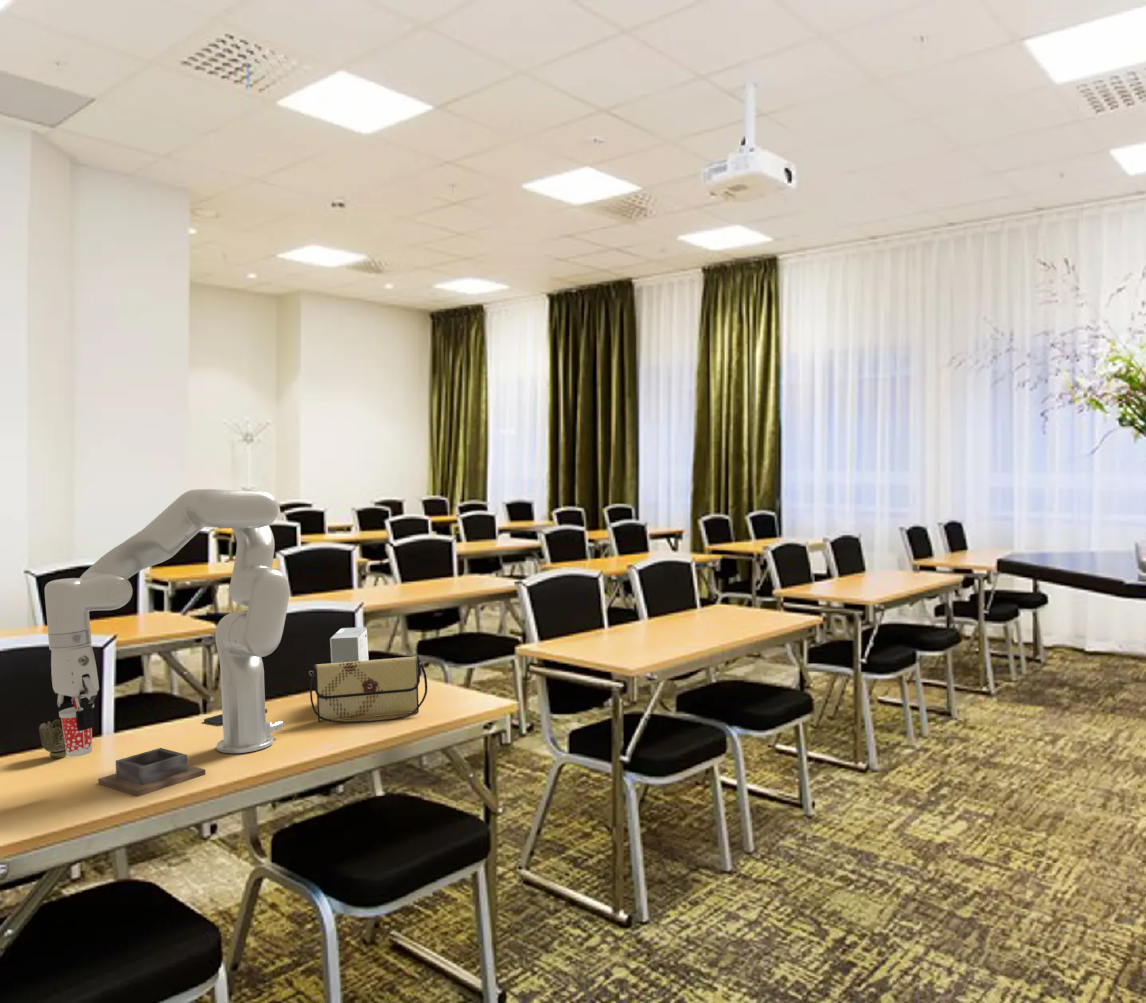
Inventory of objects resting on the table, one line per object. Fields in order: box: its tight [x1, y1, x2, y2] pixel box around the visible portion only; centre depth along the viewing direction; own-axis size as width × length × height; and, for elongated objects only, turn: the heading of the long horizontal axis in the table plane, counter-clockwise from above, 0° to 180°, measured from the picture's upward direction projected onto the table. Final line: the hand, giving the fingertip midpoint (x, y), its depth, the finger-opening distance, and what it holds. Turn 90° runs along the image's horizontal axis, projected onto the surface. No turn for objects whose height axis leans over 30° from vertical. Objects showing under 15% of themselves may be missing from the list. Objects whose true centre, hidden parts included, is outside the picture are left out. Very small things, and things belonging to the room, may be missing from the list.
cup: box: [38, 719, 67, 760], centre depth 207 cm, size 8×7×8 cm
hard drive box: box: [329, 626, 370, 663], centre depth 248 cm, size 16×8×20 cm, turn 3°
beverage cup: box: [58, 698, 93, 758], centre depth 183 cm, size 6×6×14 cm
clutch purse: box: [308, 655, 428, 724], centre depth 232 cm, size 30×7×15 cm, turn 105°
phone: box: [203, 708, 268, 727], centre depth 237 cm, size 8×1×15 cm
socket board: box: [97, 747, 206, 797], centre depth 189 cm, size 15×15×4 cm
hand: (77, 725), depth 183 cm, fingers closed on beverage cup, 6 cm apart
